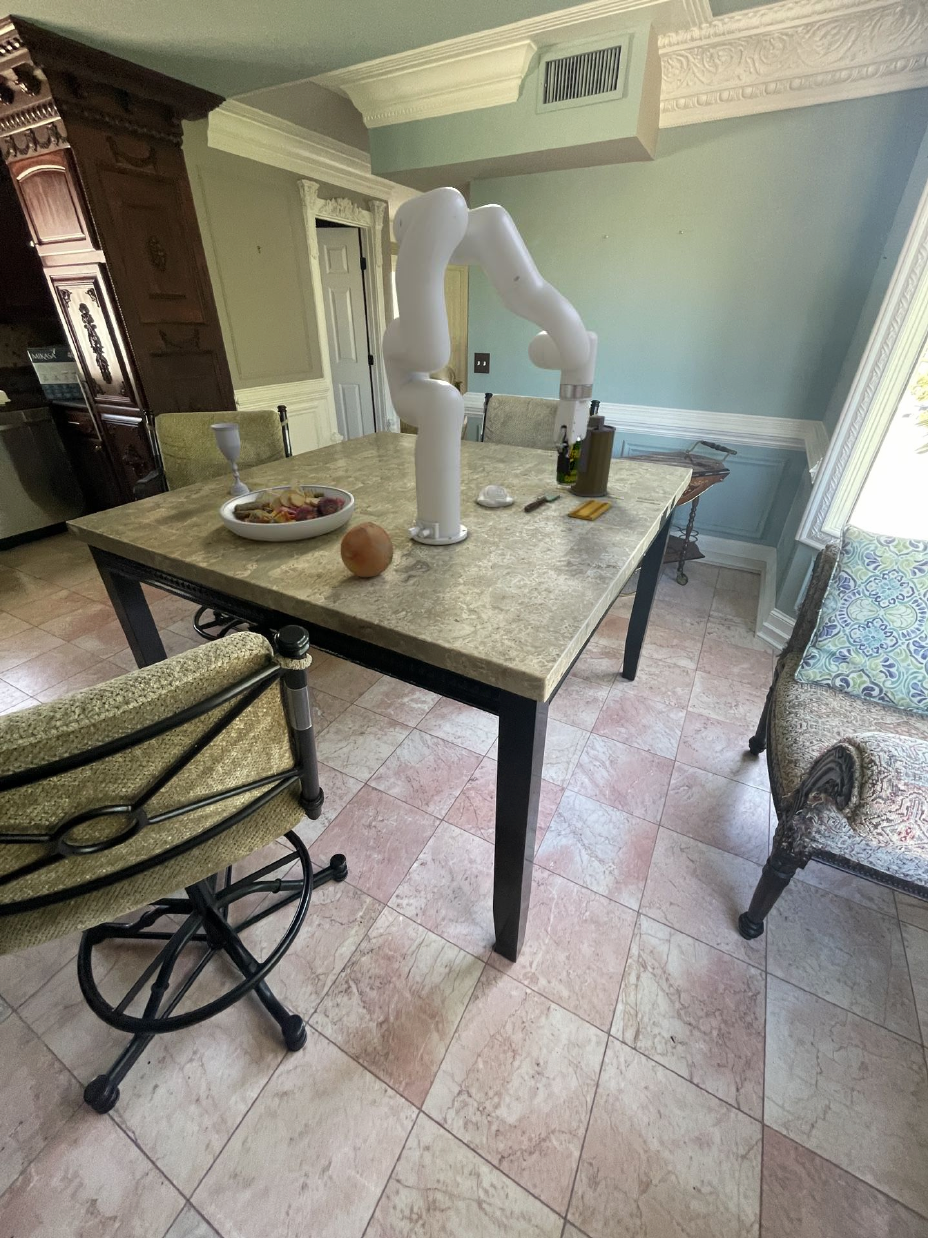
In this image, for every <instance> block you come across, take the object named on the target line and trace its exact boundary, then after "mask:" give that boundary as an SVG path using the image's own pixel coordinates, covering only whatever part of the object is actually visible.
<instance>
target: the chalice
mask: <svg viewBox="0 0 928 1238" xmlns="http://www.w3.org/2000/svg"><path fill="white" fill-rule="evenodd" d="M210 427H211V429H212V430H213V433H214V437H215V440H216V445H217V447H218V449H219V451H220V452H221V453H222V455H223V456H224V458H225V459H226V460H227V461H228V462H230V463H231V470H232V471H233V474H232V476H233V477H234V480H235V482H234V483H233V484H232V486H231V488H230V489H231V490H230V494H231V495H233V496H240V495H243V494H246V493H250V492H251V491H250V490H249V489H248V486H247V485H246V484H245V483H243V482H242V481H240V474H239V472H238V469H239V467H238V466H237V464H236V461H238V459H239V457H240V452H241V445H242V442H241V437H240V434H239V429H238V428H239V423H237V422H224V423H223V422H222V423H215V424H211V425H210Z"/></svg>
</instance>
